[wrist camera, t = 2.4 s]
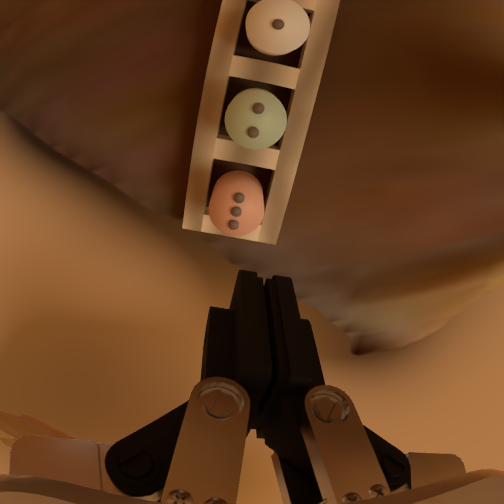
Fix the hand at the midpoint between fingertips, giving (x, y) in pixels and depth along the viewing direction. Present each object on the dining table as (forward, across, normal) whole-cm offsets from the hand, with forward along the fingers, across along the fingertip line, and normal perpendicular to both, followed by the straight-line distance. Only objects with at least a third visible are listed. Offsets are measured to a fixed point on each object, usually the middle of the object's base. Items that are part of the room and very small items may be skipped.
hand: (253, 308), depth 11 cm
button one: (+21, 0, -12) cm, 24 cm away
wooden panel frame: (+23, 0, -4) cm, 24 cm away
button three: (+21, 0, +4) cm, 22 cm away
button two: (+21, 0, -4) cm, 21 cm away
